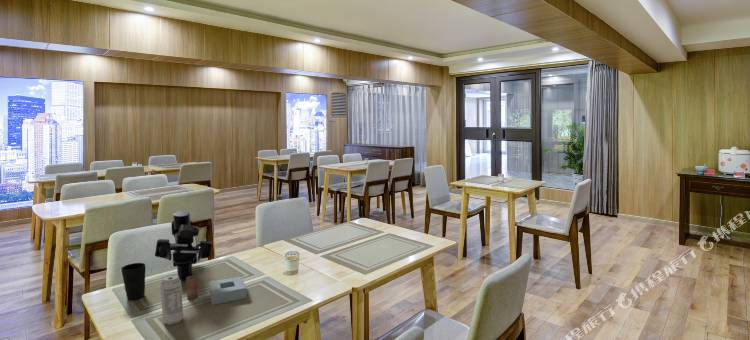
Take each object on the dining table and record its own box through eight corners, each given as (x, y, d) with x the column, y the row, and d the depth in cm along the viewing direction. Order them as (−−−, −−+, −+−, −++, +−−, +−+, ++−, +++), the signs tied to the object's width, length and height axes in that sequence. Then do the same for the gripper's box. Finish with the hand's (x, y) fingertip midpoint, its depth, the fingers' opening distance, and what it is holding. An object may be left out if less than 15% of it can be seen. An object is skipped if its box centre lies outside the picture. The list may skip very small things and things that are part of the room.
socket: (209, 291, 155) (208, 281, 154) (241, 286, 160) (241, 276, 160) (212, 304, 144) (211, 294, 144) (246, 298, 149) (246, 287, 149)
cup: (120, 303, 145) (118, 271, 144) (127, 294, 153) (125, 263, 151) (144, 300, 148) (142, 269, 146) (150, 291, 155) (147, 261, 153)
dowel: (187, 297, 150) (185, 276, 149) (197, 295, 152) (196, 274, 151) (187, 301, 147) (186, 280, 146) (198, 299, 149) (197, 278, 148)
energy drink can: (183, 314, 137) (180, 272, 135) (184, 322, 132) (181, 279, 130) (163, 319, 134) (159, 276, 132) (163, 327, 129) (160, 282, 127)
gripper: (159, 219, 151) (159, 237, 137) (212, 222, 160) (216, 240, 147) (155, 246, 153) (154, 266, 140) (207, 248, 162) (211, 267, 149)
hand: (185, 259), depth 144 cm, fingers open, 9 cm apart
